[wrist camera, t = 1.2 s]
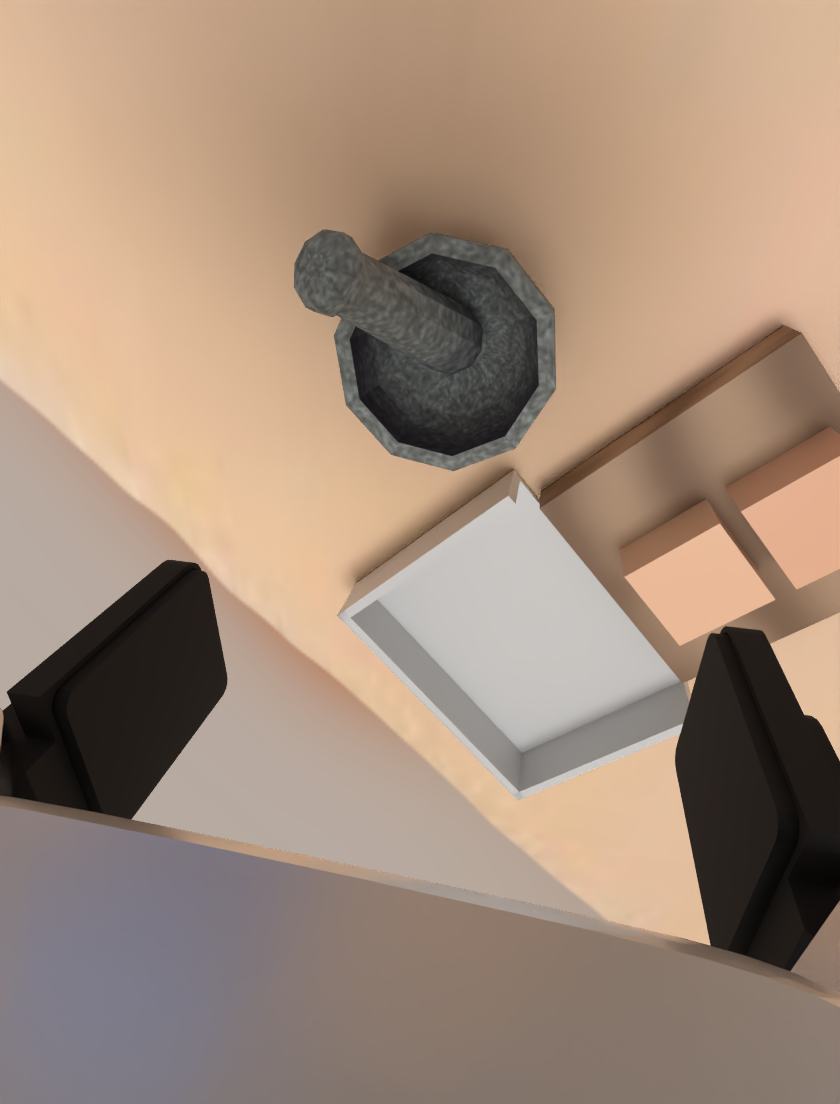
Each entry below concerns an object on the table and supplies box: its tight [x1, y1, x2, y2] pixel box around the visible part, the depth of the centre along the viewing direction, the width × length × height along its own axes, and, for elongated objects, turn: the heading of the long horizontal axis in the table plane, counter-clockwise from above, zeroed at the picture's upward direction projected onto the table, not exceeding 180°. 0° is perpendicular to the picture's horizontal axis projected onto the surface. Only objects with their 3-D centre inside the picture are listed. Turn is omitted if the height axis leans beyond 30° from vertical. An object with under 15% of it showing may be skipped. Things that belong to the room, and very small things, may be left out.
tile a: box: [726, 427, 840, 589], centre depth 28 cm, size 5×5×3 cm
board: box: [539, 326, 840, 683], centre depth 32 cm, size 14×14×2 cm
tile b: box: [620, 499, 775, 646], centre depth 31 cm, size 5×5×3 cm
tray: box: [337, 470, 691, 801], centre depth 38 cm, size 13×18×4 cm
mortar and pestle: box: [294, 230, 556, 471], centre depth 26 cm, size 11×9×12 cm
